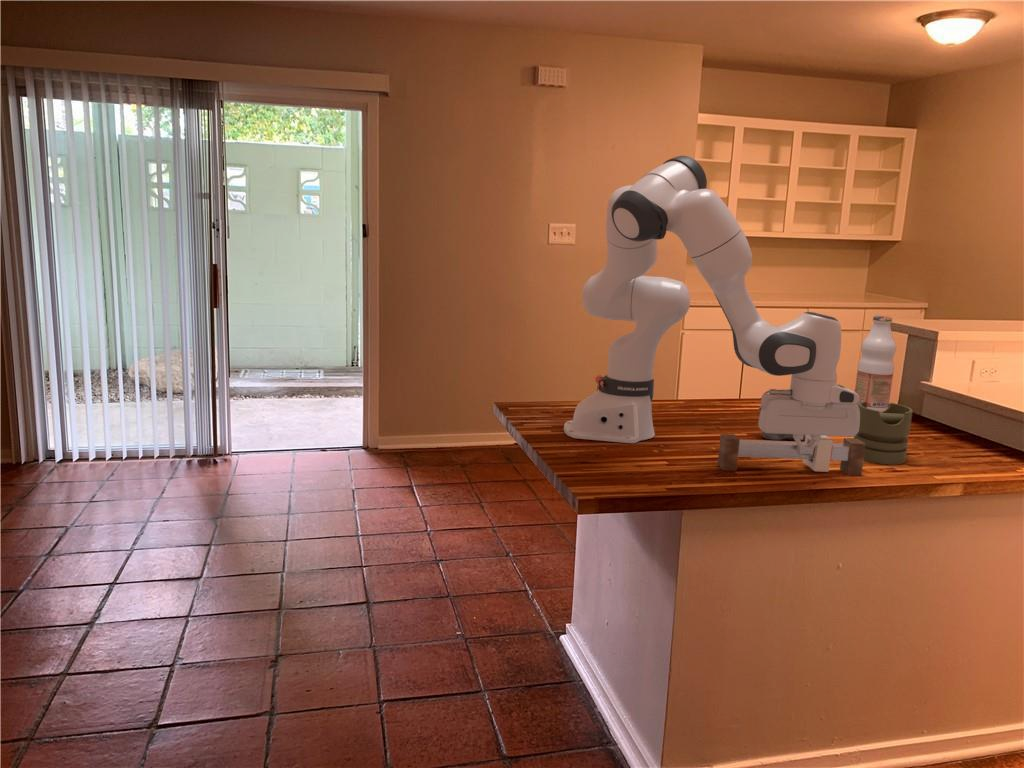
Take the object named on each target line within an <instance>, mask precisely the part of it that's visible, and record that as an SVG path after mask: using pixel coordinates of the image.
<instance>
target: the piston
mask: <svg viewBox="0 0 1024 768" xmlns="http://www.w3.org/2000/svg"><path fill="white" fill-rule="evenodd" d="M858 407H859V410H860V426H859V432H858V433H857V434H856V435H855V436H854V437H853V439H859V440H860V441H862V442H863V443H865V444H866V446H865V454H864V461H863V462H867V461H868V463H872V464H877V463H879V465H886V464H888V466H889V465H891V466H893V465H894V466H896V465H902V464H904V463H906V458H907V450H908V445H909V439H908V438H907V437H909V435H910V431H911V424H912V417H913V409H912V408H911V407H909V406H907V405H903V404H900V403H894V402H889V407H888V408H887V409H886V410H885V411H883V412H879V411H876V410H872V409H868V408H867V407H866V401H864V402H860V403H859V404H858Z"/></svg>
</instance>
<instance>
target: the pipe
mask: <svg viewBox="0 0 1024 768" xmlns="http://www.w3.org/2000/svg"><path fill="white" fill-rule="evenodd" d="M758 409H759V413H760V412H761V409H762V407H761V405H759V407H758ZM761 436H762V437H763V438H764V439H765V440H769V441H783V440H789V441H790V440H791V441H792V440H793V441H795V440H794V438H793V434H774V433H765V432H763V431H762V430H761ZM805 436H806V435H804V436H803V440H802V439H800V440H801V441H805Z"/></svg>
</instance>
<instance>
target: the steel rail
mask: <svg viewBox="0 0 1024 768" xmlns="http://www.w3.org/2000/svg"><path fill="white" fill-rule="evenodd" d="M801 442H802V445H808V444H809V442H805V441H801ZM814 451H815V448H814V450H813V455H799V454H797V444H796V442H795V440H793V441H792V440H791V441H790V440H789V441H787V440H768V439H765V440H763V439H762V440H760V439H759V440H758V439H740V441H739V451H738V458H741V457H742V458H761V459H762V458H764V459H765V458H766V459H791V460H794V459H795V460H803V459H814ZM849 453H850V447H849V446H848V445H846V444H845V443H843V442H832V449H831V457H830V462H832V461H841V460H843V461H848V460H849Z"/></svg>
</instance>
